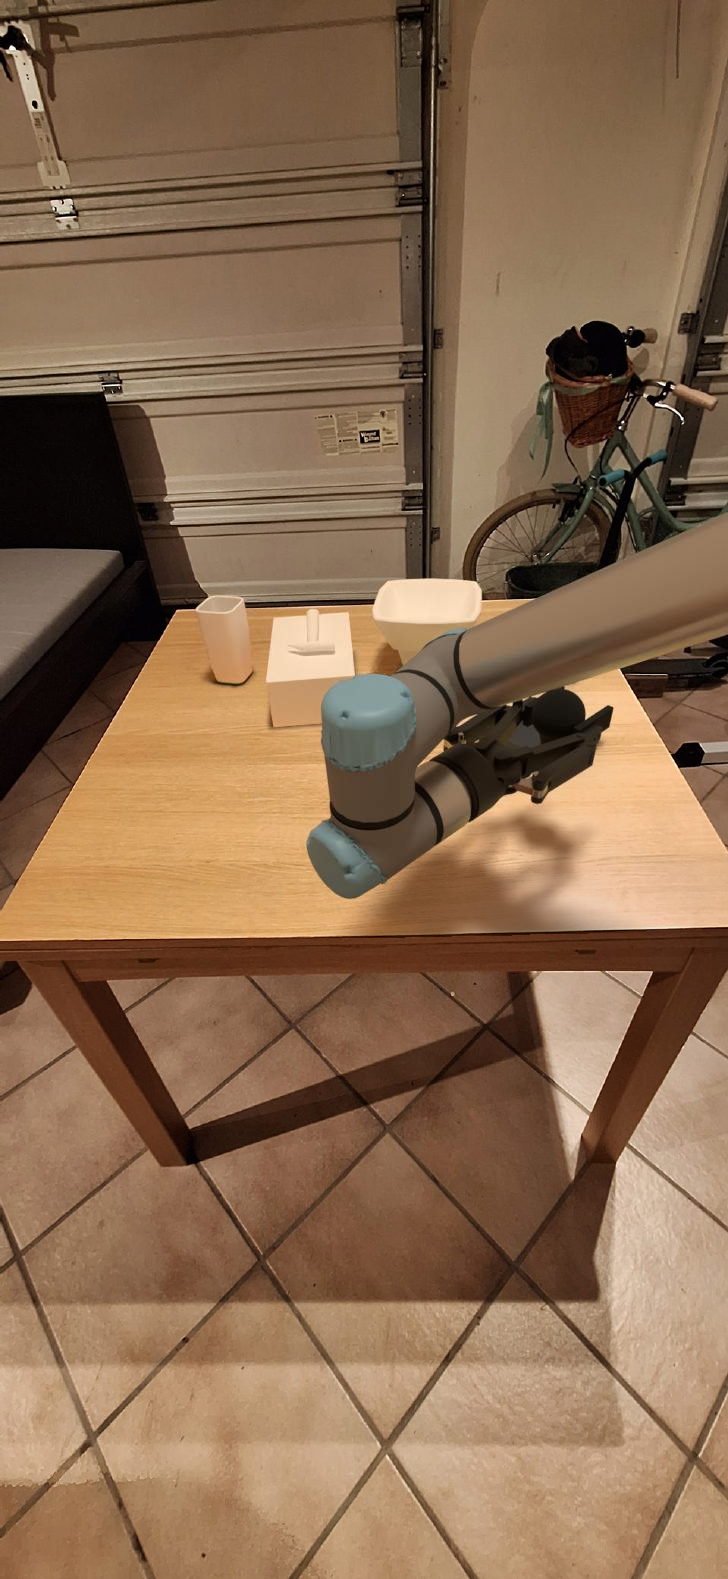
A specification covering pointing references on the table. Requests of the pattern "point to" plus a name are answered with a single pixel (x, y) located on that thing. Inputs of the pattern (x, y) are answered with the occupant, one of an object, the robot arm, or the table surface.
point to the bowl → (424, 611)
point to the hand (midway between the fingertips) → (583, 705)
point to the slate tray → (524, 737)
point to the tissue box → (306, 664)
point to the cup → (226, 637)
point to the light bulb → (557, 714)
